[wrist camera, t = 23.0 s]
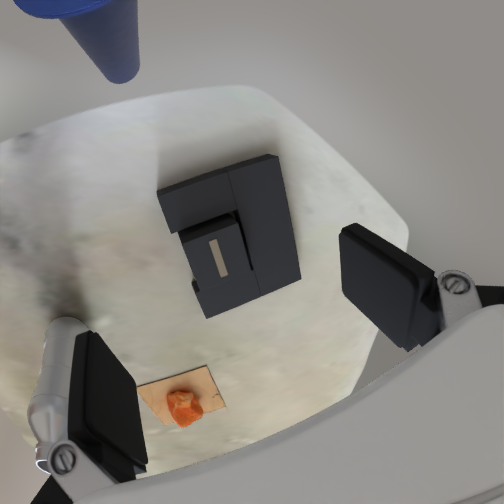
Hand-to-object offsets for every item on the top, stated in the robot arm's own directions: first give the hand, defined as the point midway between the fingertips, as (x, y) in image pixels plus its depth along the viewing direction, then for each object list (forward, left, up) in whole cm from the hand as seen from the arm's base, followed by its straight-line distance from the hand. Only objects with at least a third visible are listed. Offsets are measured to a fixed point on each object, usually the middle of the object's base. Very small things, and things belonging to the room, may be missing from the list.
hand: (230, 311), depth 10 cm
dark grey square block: (+8, +2, -23) cm, 24 cm away
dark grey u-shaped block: (+8, +5, -23) cm, 25 cm away
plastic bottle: (+12, -19, -23) cm, 32 cm away
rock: (+32, -11, -23) cm, 41 cm away
